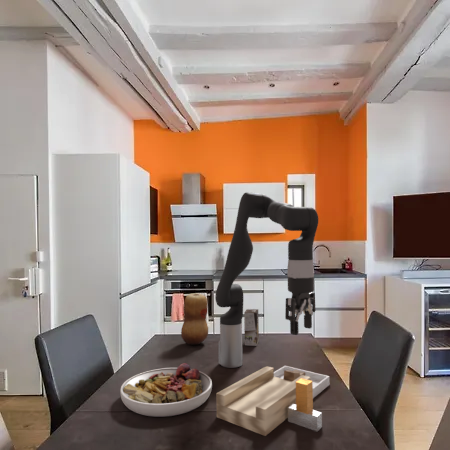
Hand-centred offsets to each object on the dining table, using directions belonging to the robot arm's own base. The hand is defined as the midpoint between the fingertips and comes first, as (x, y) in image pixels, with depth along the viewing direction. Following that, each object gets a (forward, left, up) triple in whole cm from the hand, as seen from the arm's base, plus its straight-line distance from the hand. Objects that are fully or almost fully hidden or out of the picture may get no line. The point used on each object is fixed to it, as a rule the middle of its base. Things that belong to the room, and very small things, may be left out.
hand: (301, 331), depth 105 cm
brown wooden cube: (-13, +17, -24) cm, 32 cm away
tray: (-13, +22, -26) cm, 37 cm away
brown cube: (-13, +20, -23) cm, 33 cm away
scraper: (+1, -1, -26) cm, 26 cm away
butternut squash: (-77, +37, -26) cm, 89 cm away
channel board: (-13, +1, -26) cm, 29 cm away
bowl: (-43, -13, -26) cm, 52 cm away
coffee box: (-55, +55, -26) cm, 82 cm away
